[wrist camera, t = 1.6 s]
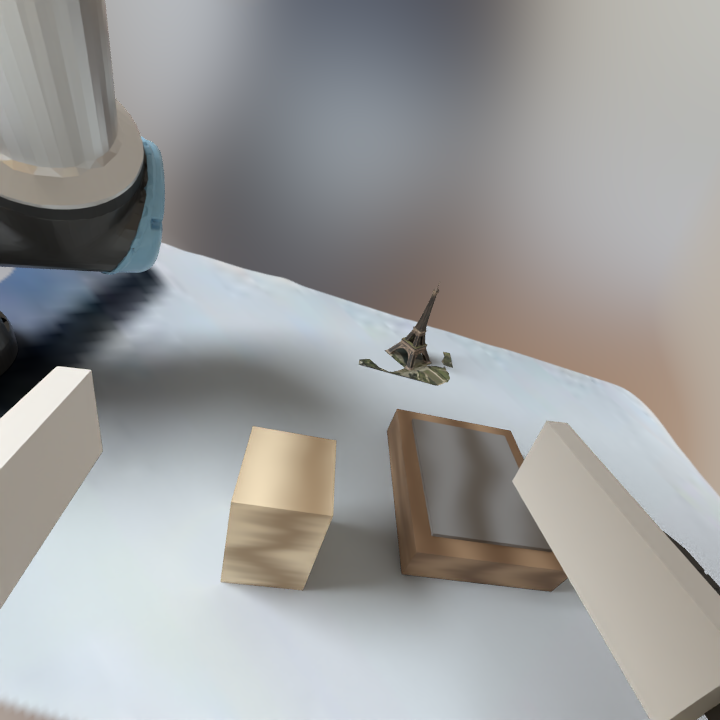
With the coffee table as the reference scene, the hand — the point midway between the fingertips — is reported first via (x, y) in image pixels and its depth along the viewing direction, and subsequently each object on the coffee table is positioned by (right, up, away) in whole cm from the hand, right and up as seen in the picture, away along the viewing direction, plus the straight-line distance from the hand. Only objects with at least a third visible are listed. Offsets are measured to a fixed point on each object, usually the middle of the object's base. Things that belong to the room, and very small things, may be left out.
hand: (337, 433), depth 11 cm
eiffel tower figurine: (+8, +2, +47) cm, 48 cm away
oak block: (-7, -13, +19) cm, 24 cm away
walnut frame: (+11, -12, +28) cm, 32 cm away
